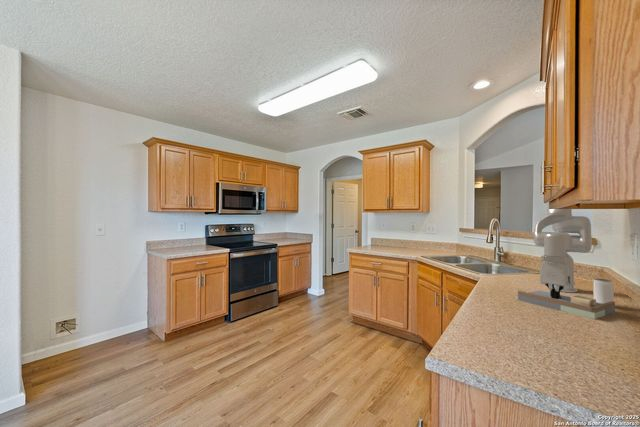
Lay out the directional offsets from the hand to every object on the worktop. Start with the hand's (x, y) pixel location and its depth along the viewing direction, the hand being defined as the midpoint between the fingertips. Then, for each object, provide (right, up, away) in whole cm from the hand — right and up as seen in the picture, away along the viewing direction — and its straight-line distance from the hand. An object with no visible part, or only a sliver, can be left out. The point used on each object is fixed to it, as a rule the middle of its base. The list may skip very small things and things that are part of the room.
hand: (555, 298), depth 123 cm
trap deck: (+5, -3, +1) cm, 6 cm away
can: (+24, -4, +1) cm, 24 cm away
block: (+4, -1, -9) cm, 10 cm away
